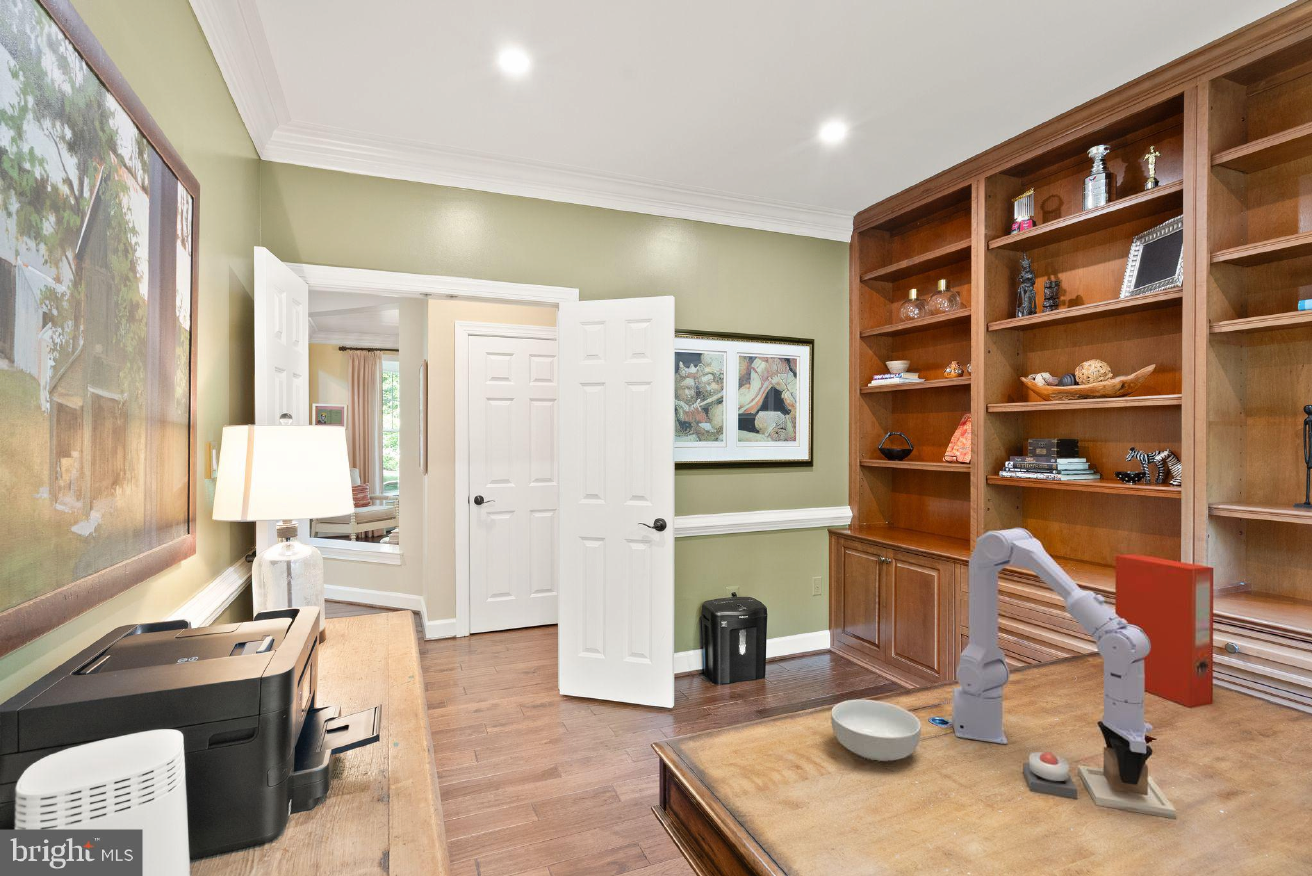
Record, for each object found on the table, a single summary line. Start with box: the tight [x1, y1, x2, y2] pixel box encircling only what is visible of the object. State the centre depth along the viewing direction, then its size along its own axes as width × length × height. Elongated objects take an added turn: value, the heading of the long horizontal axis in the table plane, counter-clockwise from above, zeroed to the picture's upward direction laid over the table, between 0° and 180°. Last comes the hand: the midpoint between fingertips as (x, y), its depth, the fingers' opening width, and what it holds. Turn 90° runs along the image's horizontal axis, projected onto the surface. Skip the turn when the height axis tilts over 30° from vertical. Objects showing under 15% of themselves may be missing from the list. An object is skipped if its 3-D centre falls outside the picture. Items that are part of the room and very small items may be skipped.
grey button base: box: [1022, 762, 1078, 800], centre depth 113 cm, size 7×7×2 cm
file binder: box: [1114, 553, 1214, 709], centre depth 154 cm, size 8×17×32 cm, turn 17°
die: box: [1102, 746, 1149, 796], centre depth 109 cm, size 5×5×5 cm
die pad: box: [1077, 764, 1177, 820], centre depth 109 cm, size 11×11×1 cm
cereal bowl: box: [830, 699, 922, 762], centre depth 124 cm, size 17×17×7 cm
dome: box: [1028, 751, 1070, 783], centre depth 113 cm, size 6×6×5 cm
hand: (1123, 774), depth 109 cm, fingers closed on die, 5 cm apart
